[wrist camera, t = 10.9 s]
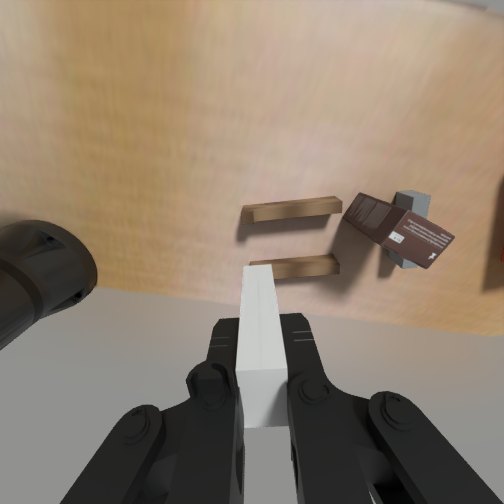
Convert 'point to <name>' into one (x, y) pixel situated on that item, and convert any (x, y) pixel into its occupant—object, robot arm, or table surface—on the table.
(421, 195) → the end stop
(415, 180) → the table surface
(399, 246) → the box
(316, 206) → the brown piece
